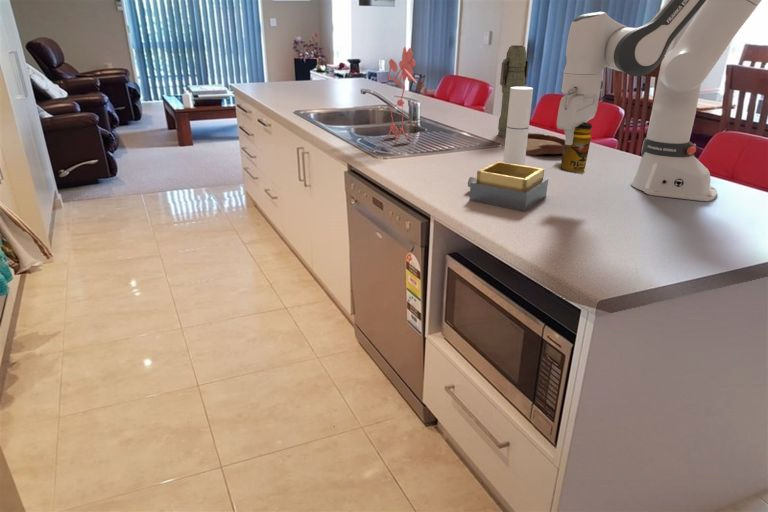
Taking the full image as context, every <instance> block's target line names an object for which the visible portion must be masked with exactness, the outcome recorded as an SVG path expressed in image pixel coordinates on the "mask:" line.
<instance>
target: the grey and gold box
mask: <svg viewBox="0 0 768 512" xmlns="http://www.w3.org/2000/svg"><path fill="white" fill-rule="evenodd" d="M544 174H545V168H542V167H535V166H530V165H529V166H528V165H524V166H523V165H517V164H511V163H505V162H503V161H498V160H497V161H495V162H492V163H491V164H489V165H487V166H485V167H483V168H481V169H479V170H477V172H476V177H474V176H469V178H468V180H467V187H468V188H469V198H468V199H469V201H472V202H477V203H480V204H481V203H482V204H487V205H490V206H495V207H500V208H505V209H510V210H515V211H519V212H527V210H529V209H530V208H532V207H533V206H534V205H536V204H537V203H538V202H540V201H541V200H543V199H544V198H546V197H547V192H548V185H549V178H546V177H544Z"/></svg>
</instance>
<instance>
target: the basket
mask: <svg viewBox="0 0 768 512" xmlns="http://www.w3.org/2000/svg"><path fill="white" fill-rule="evenodd" d="M564 145H565V139H564V138H560V137H557V136H555V135H549V134H544V133H543V134H542V133H537V132H536V133H535V132H534V133H533V132H532V133H529V132H528V139H527V148H526V155H528V156H539V155H561V154H562V155H563V151H564Z"/></svg>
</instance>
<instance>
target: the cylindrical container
mask: <svg viewBox="0 0 768 512" xmlns="http://www.w3.org/2000/svg"><path fill="white" fill-rule="evenodd" d="M533 93H534V88H533V87H530V86H525V87H511V88H510V98H509V108H508V118H507V129H506V137H505V141H504V149H503V150H504V151H503V161H502V162H505V163H511V164H517V165H523V166H526V165H525V164H526V156H527V154H526V148H527V139H528V133H529V131H530V130H529V129H530V128H529V127H530V121H531V112H532V104H533V103H532V102H533Z"/></svg>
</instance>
